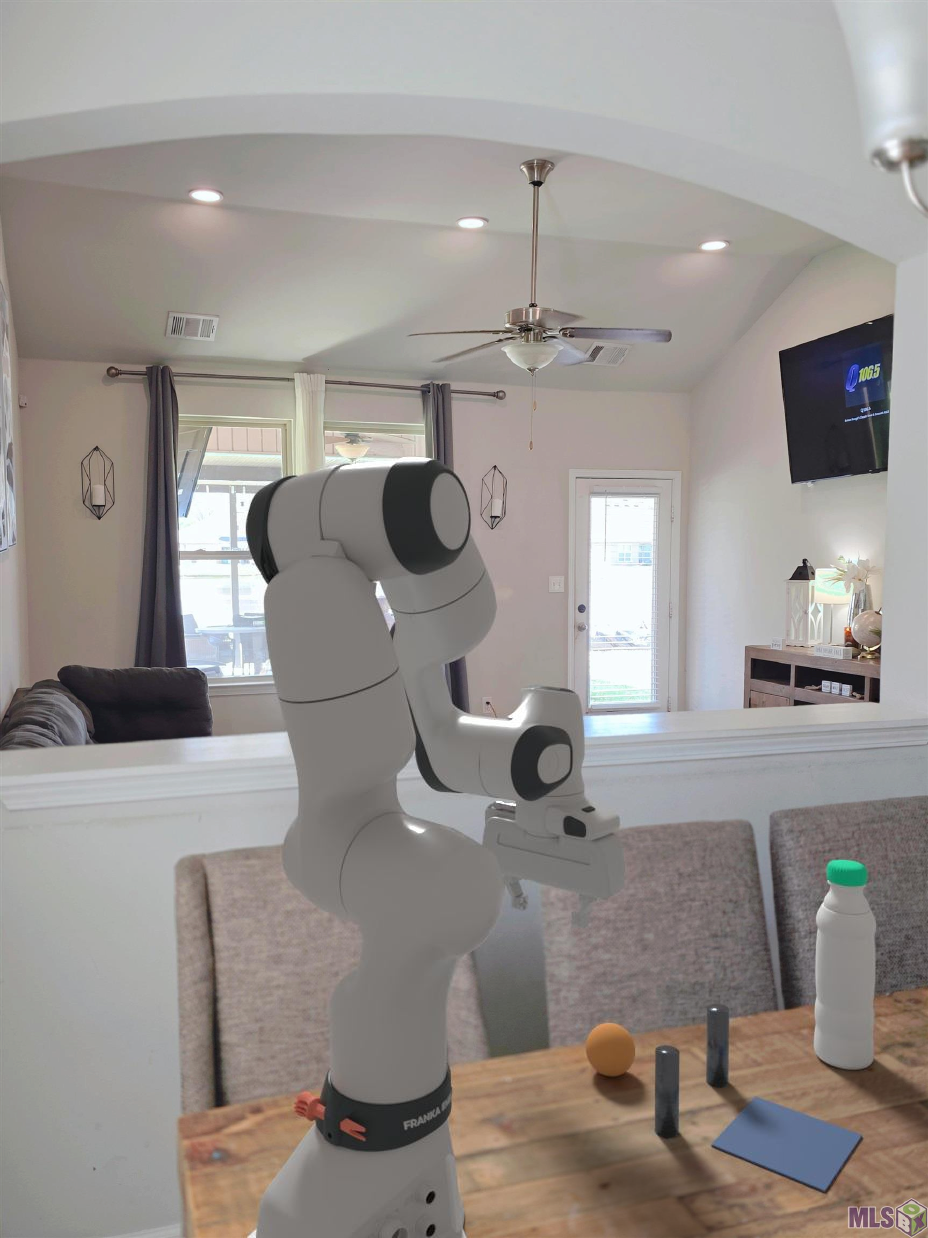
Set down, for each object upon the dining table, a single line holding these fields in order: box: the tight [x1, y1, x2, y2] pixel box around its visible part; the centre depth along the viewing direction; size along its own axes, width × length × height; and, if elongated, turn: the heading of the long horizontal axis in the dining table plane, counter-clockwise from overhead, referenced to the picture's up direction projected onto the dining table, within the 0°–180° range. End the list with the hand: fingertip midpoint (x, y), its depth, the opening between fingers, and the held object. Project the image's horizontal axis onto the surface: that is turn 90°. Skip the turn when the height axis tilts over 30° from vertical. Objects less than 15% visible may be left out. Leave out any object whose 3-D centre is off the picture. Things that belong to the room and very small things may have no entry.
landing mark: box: [711, 1096, 863, 1193], centre depth 102 cm, size 12×12×1 cm
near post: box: [654, 1044, 681, 1139], centre depth 104 cm, size 3×3×9 cm
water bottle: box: [813, 859, 877, 1071], centre depth 119 cm, size 7×7×25 cm
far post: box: [705, 1003, 730, 1088], centre depth 114 cm, size 3×3×9 cm
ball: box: [585, 1022, 636, 1077], centre depth 116 cm, size 6×6×6 cm
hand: (549, 917), depth 121 cm, fingers open, 8 cm apart
